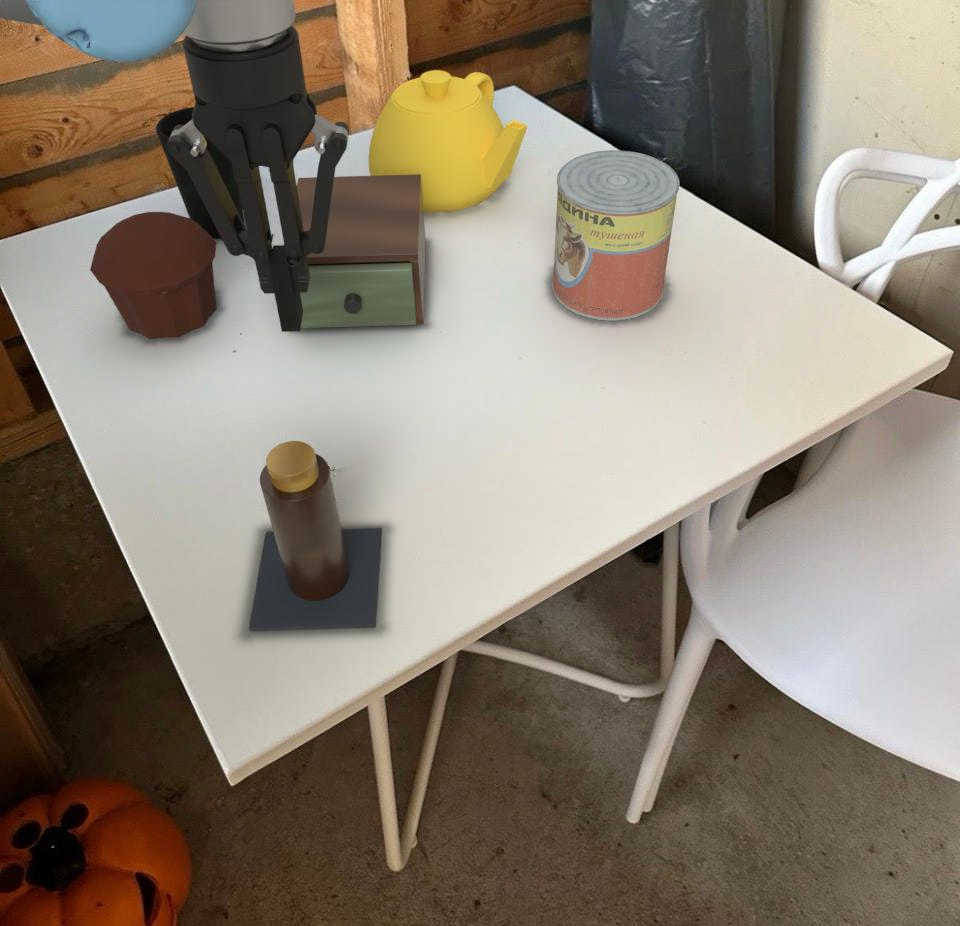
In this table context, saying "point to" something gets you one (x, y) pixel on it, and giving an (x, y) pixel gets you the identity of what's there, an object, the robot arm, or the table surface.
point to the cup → (183, 179)
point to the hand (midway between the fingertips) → (292, 321)
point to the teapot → (446, 139)
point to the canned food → (613, 233)
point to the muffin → (158, 273)
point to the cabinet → (372, 223)
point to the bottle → (305, 520)
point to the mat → (341, 611)
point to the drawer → (359, 295)
